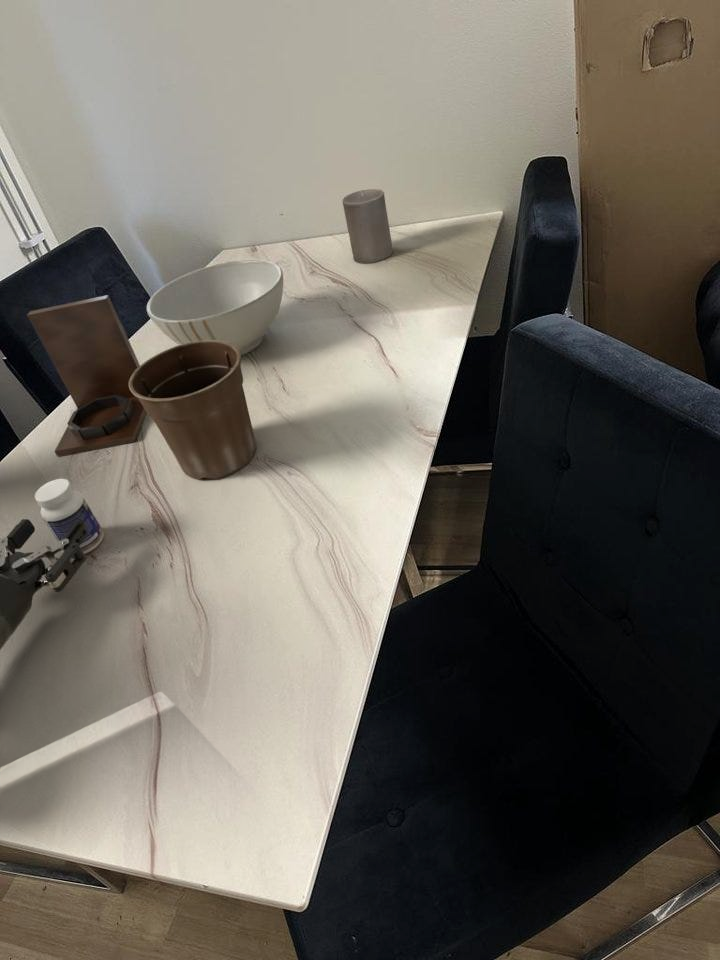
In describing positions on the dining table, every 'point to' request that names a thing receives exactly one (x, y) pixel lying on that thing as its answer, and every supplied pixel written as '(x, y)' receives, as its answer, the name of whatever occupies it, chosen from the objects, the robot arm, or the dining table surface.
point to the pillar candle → (368, 225)
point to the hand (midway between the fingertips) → (56, 523)
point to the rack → (92, 372)
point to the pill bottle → (67, 512)
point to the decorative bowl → (220, 303)
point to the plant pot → (199, 406)
